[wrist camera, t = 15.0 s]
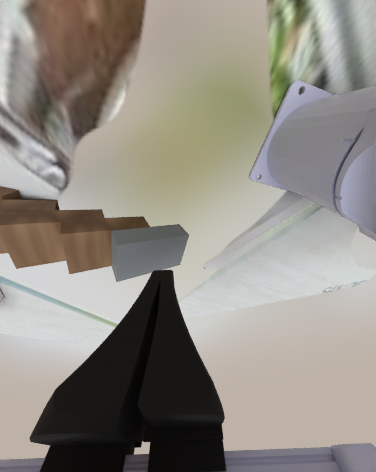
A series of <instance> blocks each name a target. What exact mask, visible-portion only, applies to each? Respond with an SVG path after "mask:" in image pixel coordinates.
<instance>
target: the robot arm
mask: <svg viewBox="0 0 376 472" xmlns="http://www.w3.org/2000/svg"><path fill="white" fill-rule="evenodd" d="M300 87H301V88H302V93H301V94H300V95H299V94H298V91H299V89H300ZM258 175H260V177H259V178H258V179H257V176H258ZM249 178H250V179H251V180H253V181H256V182H259V183H263V184H267V185H270V186H274V187H277V188H281V189H284V190H288V191H291V192H295V193H298V194H300V195H302V196H304V197H306V198H308V199H310V200H312V201H314V202H316V203H318V204H319V205H321V206H323V207H325V208H327V209H329V210H331V211H333V212H335V213H337V214H339V215H341V216H342V217H345V218H346V219H348V220H350V221H352V222H354V223H356V224H357V225H358V226H359V231H360V232H361V233H363V234H365V235H367V236H368V237H370V238H372V239H374V240H375V241H376V85H375V86H371V87H367V88H363V89H359V90H355V91H351V92H347V93H343V94H339V95H333V94H331V93H329V92H326V91H324V90H322V89H319V88H317V87H315V86H312V85H310V84H308V83H305V82H303V81H300V80H297V81H294V82H293V83H292V84H290V86H289V88H288V90H287V92H286V95H285V97H284V99H283V101H282V103H281V106H280V108H279V110H278V112H277V114H276V117H275V119H274V121H273V123H272V126H271V128H270V130H269V132H268V134H267V136H266V139H265V141H264V143H263V145H262V147H261V150H260V152H259V154H258V156H257V159H256V161H255V163H254V165H253V167H252V170H251V172H250V174H249ZM224 418H225V417H224V411H223V408H222V404H221V402H220V399H219V396H218V394H217V391H216V389H215V386H214V383H213V381H212V379H211V377H210V376H209V373H208V372H207V370H206V368H205V366H204V364H203V362H202V360H201V358H200V356H199V354H198V352H197V350H196V347H195V345H194V343H193V341H192V339H191V337H190V334H189V332H188V329H187V327H186V324H185V321H184V319H183V316H182V313H181V310H180V307H179V304H178V300H177V297H176V293H175V288H174V277H173V271H172V270H154V271H153V272H152V274H151V276H150V278H149V280H148V282H147V284H146V286H145V287H144V289H143V291H142V292H141V294H140V295H139V297H138V299H137V300H136V301H135V303H134V304H133V306H132V307H131V309H130V310H129V311H128V313H127V314H126V316H125V317H124V318H123V319H122V321H121V322H120V323H119V324H118V326H117V327H116V328H115V329H114V330H113V331H112V333H111V334H110V335H109V336H108V337H107V338H106V340H105V341H104V342H103V343H102V344H101V345H100V346H99V347H98V348H97V349H96V350H95V351H94V352H93V353H92V354H91V355H90V357H89V358H88V359H87V360H86V361H85V362H84V363H83V364H82V365H81V366H80V367H79V368H78V369H77V370H75V371H74V372H73V373H72V374H71V375H70V376H69V377H68V378H67V379H66V380H65V381H64V382H63V383H62V384H61V385H60V386H58V388H56V390H55V391H54V393H53V395H52V397H51V398H50V400H49V401H48V403H47V405H46V407H45V408H44V410H43V413H42V414H41V416H40V418H39V420H38V422H37V424H36V426H35V428H34V430H33V432H32V434H31V436H30V441H31V442H34V443H39V444H45V445H51V446H50V448H49V451H48V453H47V455H46V457H45V458H35V459H9V460H0V472H376V448H375V446H374V445H373V444H371V443H367V444H366V443H365V444H342V445H333V446H331V447H320V448H294V449H269V450H243V451H224V448H223V432H222V423H223V421H224ZM142 441H143V442H150V451H149V454H142V455H141V454H140V455H134V448H135V447H141V444H142Z"/></svg>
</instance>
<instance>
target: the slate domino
mask: <svg viewBox="0 0 376 472" xmlns="http://www.w3.org/2000/svg"><path fill="white" fill-rule="evenodd" d="M188 237H189V234H188V233H187V232H186V231H185V230H184V229H183V228H182V227H181V226H180V225H179V224H178V225H167V226H156V227H146V228H135V229H125V230H114V231H111V250H112V269H113V271H114V275H115V278H116V281H117V282H118V281H122V280H126V279H129V278H133V277H136V276H140V275H144V274H147V273H151V272H153V271H154V270H163V269H166V268H170V267H173V266H177V265H180V262H181V259H182V256H183V253H184V250H185V246H186V243H187V240H188Z"/></svg>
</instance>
